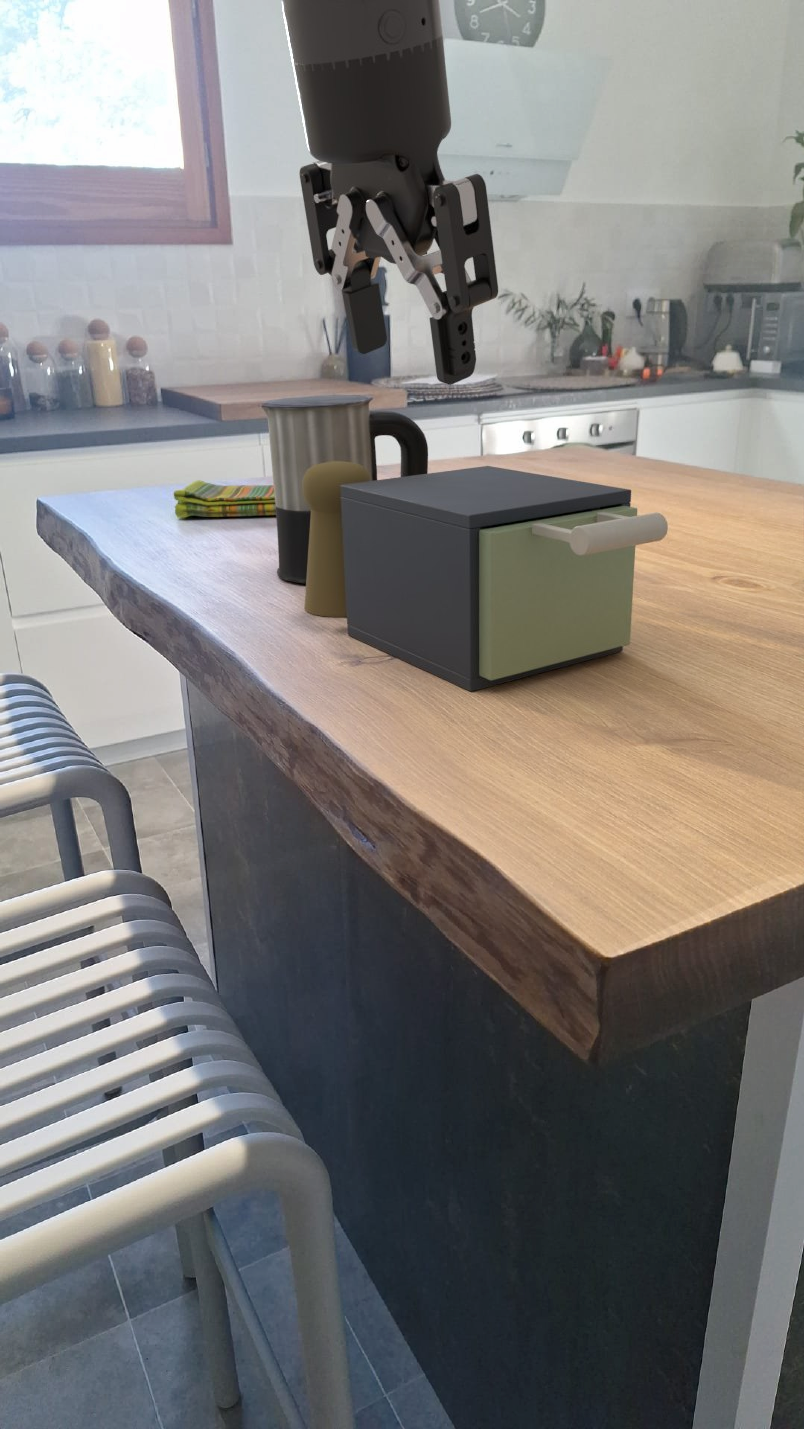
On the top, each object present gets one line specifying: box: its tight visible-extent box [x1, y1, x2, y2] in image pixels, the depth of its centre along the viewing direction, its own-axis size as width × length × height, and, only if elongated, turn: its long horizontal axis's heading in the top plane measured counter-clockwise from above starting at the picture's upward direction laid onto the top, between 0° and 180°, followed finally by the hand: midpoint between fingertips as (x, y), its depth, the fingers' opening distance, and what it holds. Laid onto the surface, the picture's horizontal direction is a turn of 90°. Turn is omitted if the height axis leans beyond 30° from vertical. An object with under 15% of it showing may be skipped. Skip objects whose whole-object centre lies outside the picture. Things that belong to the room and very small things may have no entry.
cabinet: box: [340, 465, 632, 692], centre depth 68 cm, size 15×13×11 cm
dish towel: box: [173, 479, 276, 519], centre depth 122 cm, size 15×36×3 cm, turn 91°
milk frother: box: [260, 394, 429, 585], centre depth 91 cm, size 14×16×15 cm
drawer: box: [479, 506, 669, 680], centre depth 64 cm, size 18×11×9 cm, turn 33°
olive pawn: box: [302, 461, 371, 618], centre depth 78 cm, size 6×6×11 cm
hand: (411, 363), depth 60 cm, fingers open, 8 cm apart
